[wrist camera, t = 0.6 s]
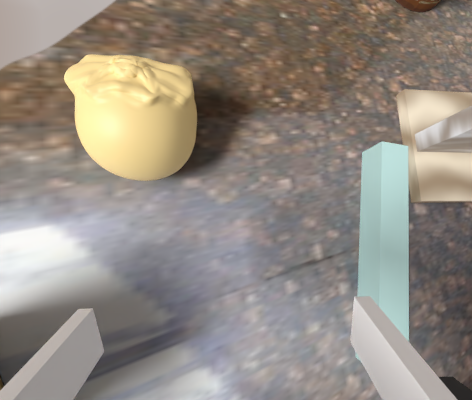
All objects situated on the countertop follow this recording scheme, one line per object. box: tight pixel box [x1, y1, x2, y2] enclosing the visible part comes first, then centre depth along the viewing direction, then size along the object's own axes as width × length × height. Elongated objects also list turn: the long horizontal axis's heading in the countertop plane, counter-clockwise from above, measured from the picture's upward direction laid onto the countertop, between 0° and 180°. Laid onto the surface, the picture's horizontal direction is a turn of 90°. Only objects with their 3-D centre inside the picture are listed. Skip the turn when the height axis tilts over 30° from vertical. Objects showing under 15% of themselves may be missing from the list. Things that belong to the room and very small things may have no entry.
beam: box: [356, 142, 409, 361], centre depth 28 cm, size 26×4×4 cm, turn 173°
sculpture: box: [64, 54, 197, 181], centre depth 23 cm, size 12×12×11 cm
